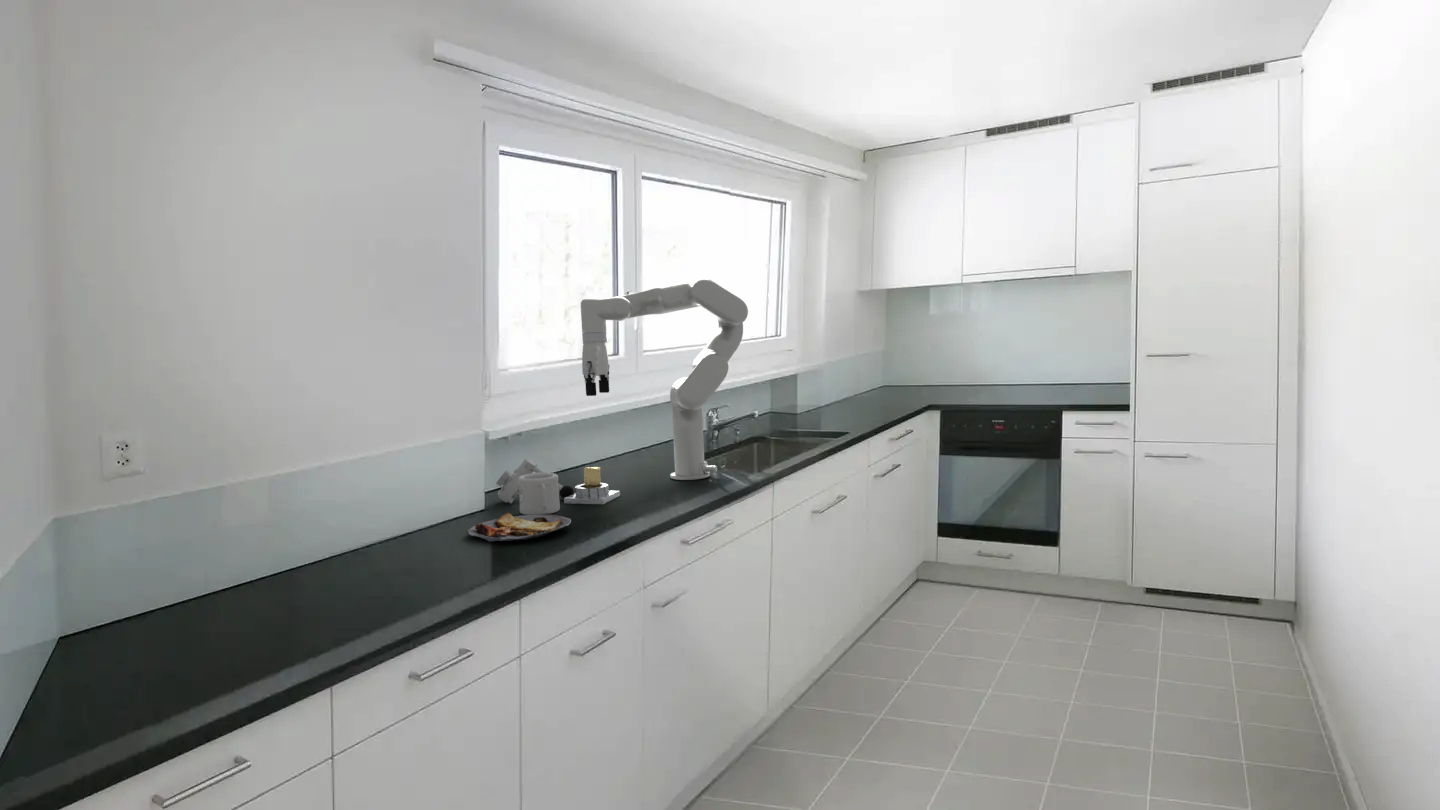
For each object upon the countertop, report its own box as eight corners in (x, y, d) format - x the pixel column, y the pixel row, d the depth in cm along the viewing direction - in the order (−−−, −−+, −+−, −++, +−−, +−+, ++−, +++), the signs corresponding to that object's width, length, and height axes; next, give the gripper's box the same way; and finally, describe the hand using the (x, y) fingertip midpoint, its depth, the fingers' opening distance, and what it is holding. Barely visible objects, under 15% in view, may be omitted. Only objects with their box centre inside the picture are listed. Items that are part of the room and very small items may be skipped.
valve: (543, 536, 277) (574, 496, 276) (486, 494, 275) (518, 454, 273) (548, 525, 288) (579, 486, 286) (494, 485, 285) (524, 446, 283)
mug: (516, 510, 268) (514, 474, 267) (555, 506, 272) (553, 470, 271) (526, 519, 255) (523, 482, 254) (566, 514, 259) (564, 477, 258)
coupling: (588, 492, 281) (587, 466, 281) (603, 492, 280) (602, 467, 280) (582, 495, 277) (581, 469, 276) (597, 495, 276) (596, 469, 275)
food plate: (448, 540, 236) (447, 526, 236) (514, 520, 256) (513, 507, 256) (525, 549, 224) (524, 534, 223) (588, 527, 243) (588, 514, 243)
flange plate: (620, 495, 282) (619, 482, 282) (603, 504, 271) (602, 490, 271) (582, 495, 286) (581, 481, 286) (564, 503, 275) (563, 489, 274)
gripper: (595, 337, 307) (598, 391, 309) (571, 340, 291) (574, 397, 292) (617, 337, 305) (620, 391, 307) (594, 339, 288) (597, 396, 290)
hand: (597, 394), depth 299 cm, fingers open, 9 cm apart
